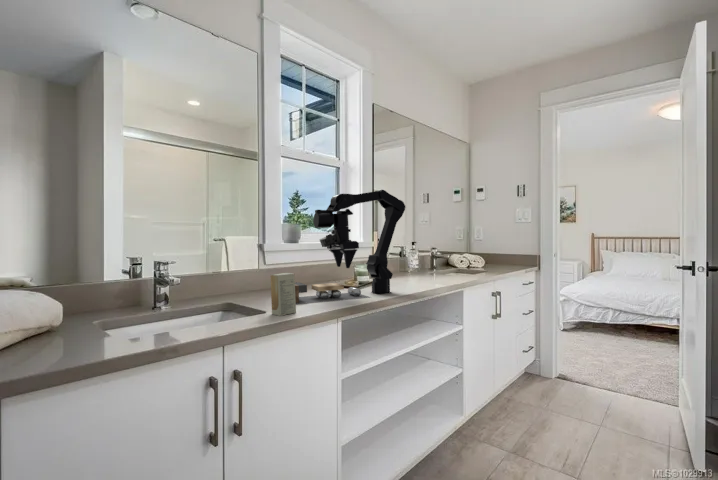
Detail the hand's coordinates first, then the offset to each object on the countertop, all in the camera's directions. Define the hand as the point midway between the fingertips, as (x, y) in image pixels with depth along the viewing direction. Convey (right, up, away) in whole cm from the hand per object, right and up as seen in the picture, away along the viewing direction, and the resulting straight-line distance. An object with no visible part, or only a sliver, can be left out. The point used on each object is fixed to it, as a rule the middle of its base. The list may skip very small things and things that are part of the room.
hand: (343, 267), depth 144 cm
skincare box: (-17, -12, -30) cm, 37 cm away
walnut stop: (-17, -12, -8) cm, 22 cm away
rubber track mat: (-6, -12, -3) cm, 14 cm away
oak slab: (-6, -8, -3) cm, 10 cm away
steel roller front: (-8, -11, -4) cm, 14 cm away
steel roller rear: (-3, -11, -2) cm, 12 cm away
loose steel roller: (+4, -11, +1) cm, 12 cm away
